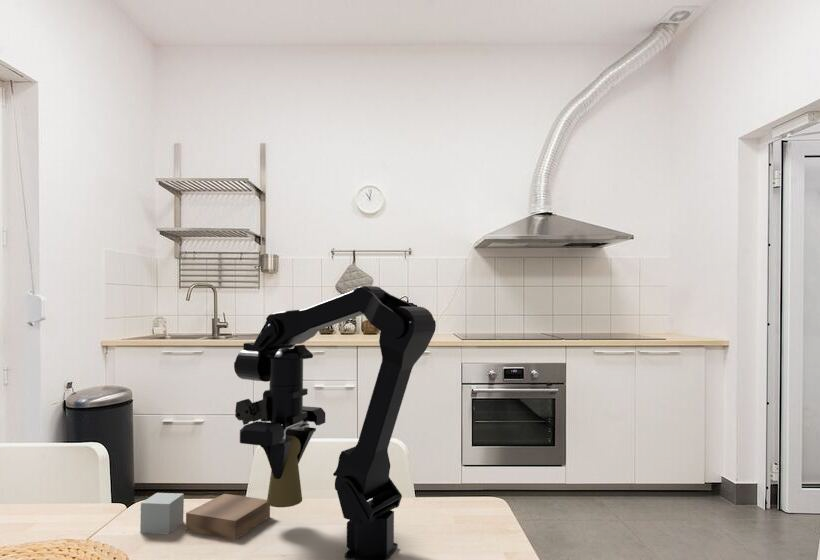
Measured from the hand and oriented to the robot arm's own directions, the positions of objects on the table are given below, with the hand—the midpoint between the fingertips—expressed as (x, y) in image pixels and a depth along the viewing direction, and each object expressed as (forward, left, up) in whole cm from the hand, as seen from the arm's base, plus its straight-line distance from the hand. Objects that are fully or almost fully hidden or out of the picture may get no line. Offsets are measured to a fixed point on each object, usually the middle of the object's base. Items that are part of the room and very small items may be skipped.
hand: (285, 474), depth 95 cm
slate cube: (+20, +7, -9) cm, 23 cm away
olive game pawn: (0, 0, -5) cm, 5 cm away
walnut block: (+10, +2, -9) cm, 14 cm away
